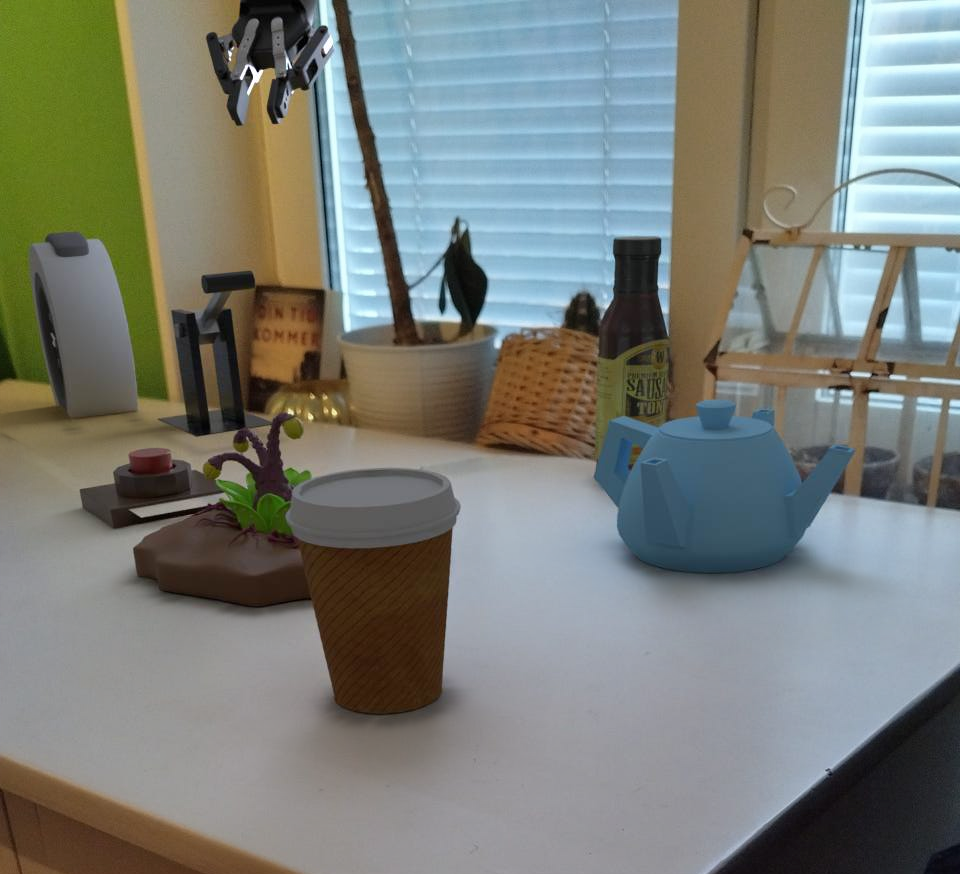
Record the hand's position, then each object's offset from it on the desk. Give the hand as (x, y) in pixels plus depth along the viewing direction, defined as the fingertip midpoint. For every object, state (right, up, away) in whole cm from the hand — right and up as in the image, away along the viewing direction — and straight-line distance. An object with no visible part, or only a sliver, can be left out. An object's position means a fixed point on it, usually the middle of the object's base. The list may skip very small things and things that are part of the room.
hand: (255, 117), depth 133 cm
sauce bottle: (+36, -40, -13) cm, 56 cm away
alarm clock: (-23, -22, +24) cm, 40 cm away
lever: (-4, -20, +1) cm, 20 cm away
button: (-6, -41, -17) cm, 45 cm away
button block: (-6, -43, -16) cm, 47 cm away
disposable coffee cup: (+17, -65, -56) cm, 87 cm away
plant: (+8, -52, -32) cm, 62 cm away
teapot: (+40, -52, -34) cm, 74 cm away
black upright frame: (-6, -29, +11) cm, 31 cm away
